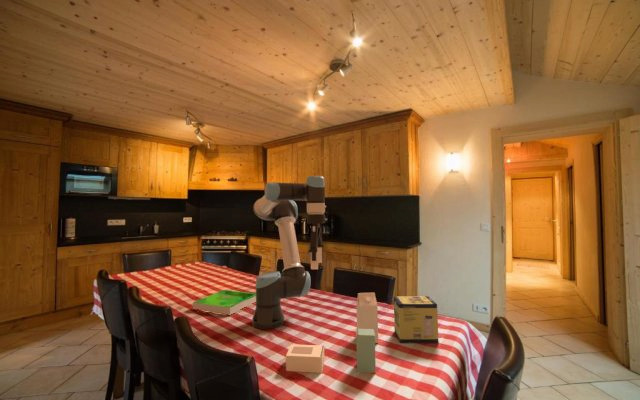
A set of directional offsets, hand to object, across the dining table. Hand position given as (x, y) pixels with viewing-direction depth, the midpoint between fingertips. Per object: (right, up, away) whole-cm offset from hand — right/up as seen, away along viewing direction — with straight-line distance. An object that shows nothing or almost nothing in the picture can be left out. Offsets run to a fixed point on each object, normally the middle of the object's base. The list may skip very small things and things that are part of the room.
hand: (316, 265), depth 115 cm
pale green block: (+17, -30, -20) cm, 40 cm away
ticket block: (-3, -30, -18) cm, 35 cm away
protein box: (+41, -31, +2) cm, 51 cm away
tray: (-52, -34, +45) cm, 76 cm away
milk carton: (+21, -31, +1) cm, 37 cm away
